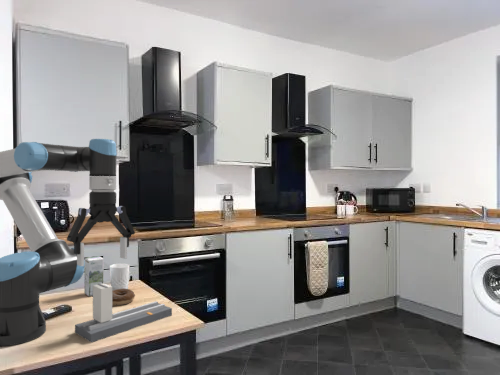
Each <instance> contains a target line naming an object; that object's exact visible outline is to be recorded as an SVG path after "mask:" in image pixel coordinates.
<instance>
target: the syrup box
mask: <svg viewBox="0 0 500 375" xmlns="http://www.w3.org/2000/svg"><path fill="white" fill-rule="evenodd" d="M84 261H85V266H84V291H83V292H84V294H85V295H86V296H88V297H93V286H94V285H98V284H103V283H104V271H105V270H104V262H105V259H104V258H103V257H102V256H90V257H84Z"/></svg>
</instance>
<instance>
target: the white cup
mask: <svg viewBox="0 0 500 375" xmlns="http://www.w3.org/2000/svg"><path fill="white" fill-rule="evenodd" d="M130 266H131V265H130V264H129V263H125V262H124V263H122V262H121V263H113V264H110V265H109V280H110V282H109V283H110V286H112V291H113V290H116V289H122V288H124V289H129V280H130Z"/></svg>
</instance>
